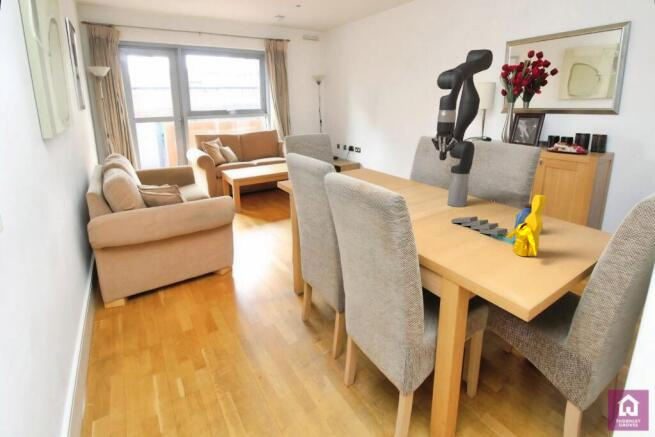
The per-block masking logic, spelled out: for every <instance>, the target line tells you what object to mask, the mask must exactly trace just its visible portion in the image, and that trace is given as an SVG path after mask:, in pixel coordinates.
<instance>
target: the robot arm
mask: <svg viewBox="0 0 655 437" xmlns="http://www.w3.org/2000/svg"><path fill="white" fill-rule="evenodd" d="M493 56H494V55H493V52H492V50H490V49H485V48H483V49H470V50H469V52H468V53H467V55H466V60H465V62H462V63H460V64H458V65H457V66H456V67H454V68H450V69H447V70H444V71H442V72H441V73H440V74H439V75H438V76H437V80H436V84H437V87H438V88H439V89H440V90H446V91H447V90H450V92H449V93H448V94H446V95H442V96H441V97H440V98H439V108H438V114H437V121H436V122H437V123H436V132H437V133H436V134H435V137H434V138H431V142H432V144H433V146H434V149H435V150H436V151H439V160H440V161H441V162H442V161H446V160H447V157H448V156H447V154H448V152H449V156H450V157H451V158H452V159H457V160H459V163H458V164H456V165H452V166H451V167H450V173H449V174H450V176H449V184H448V185H449V186H448V194H447V205H448V206H450V207H455V208H462V207H466V205H467V203H468V195H469V181H470V173H471V169H472V166H473V161H474V155H475V144H474V143H473V141H469V140H464V137H465V134H466V131H467V129H468V128H469V127H470V125H471V124H472V123H473V121H475V119H476V117H477V115H478V112H479V108H480V102H481V98H480V95H479V93H478V90H477V88H476V85H475V82H474V75H477V74H480V73H481V72H484V71H487V70H489V69H490V68H491V66H492V64H493V61H494V57H493ZM461 89H462V90H461ZM460 92H461V94H460ZM459 95H460V100H459V104H458V103H457V102H458V98H459ZM457 104H458V109H457Z"/></svg>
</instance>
